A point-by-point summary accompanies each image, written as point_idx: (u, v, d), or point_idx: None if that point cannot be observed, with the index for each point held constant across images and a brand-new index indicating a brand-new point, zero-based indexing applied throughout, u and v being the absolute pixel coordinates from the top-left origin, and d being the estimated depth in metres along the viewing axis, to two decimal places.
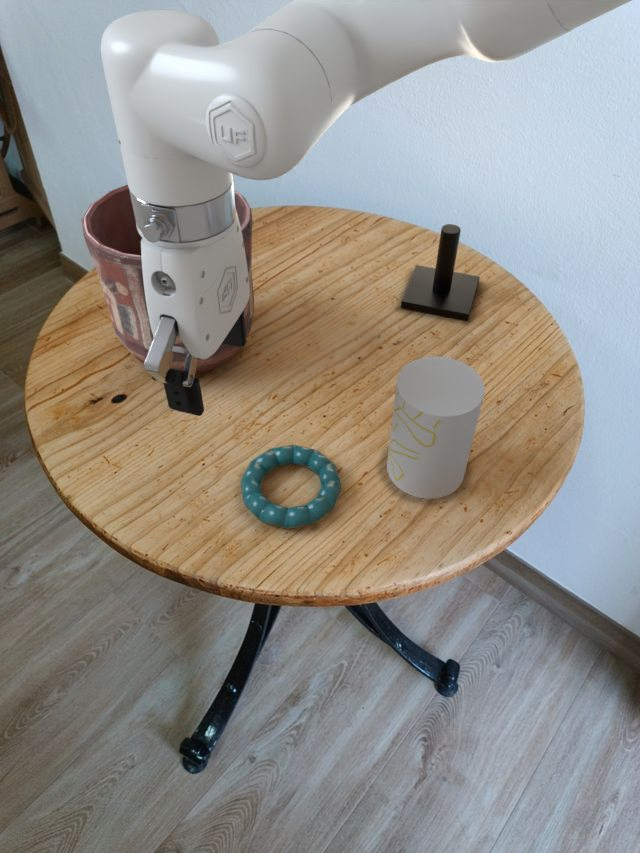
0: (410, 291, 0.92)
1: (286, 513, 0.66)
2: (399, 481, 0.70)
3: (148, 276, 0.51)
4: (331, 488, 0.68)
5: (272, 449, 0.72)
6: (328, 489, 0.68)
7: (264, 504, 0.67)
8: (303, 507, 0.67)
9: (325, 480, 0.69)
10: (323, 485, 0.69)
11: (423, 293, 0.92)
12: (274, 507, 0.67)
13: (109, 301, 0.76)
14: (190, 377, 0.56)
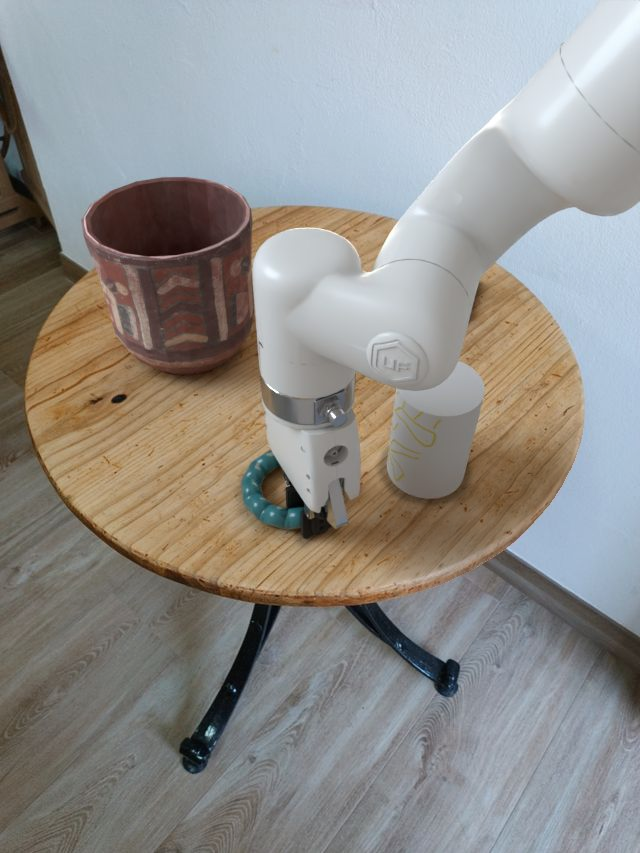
0: None
1: (286, 514, 0.66)
2: (399, 481, 0.70)
3: (320, 457, 0.54)
4: None
5: None
6: None
7: (264, 505, 0.67)
8: (303, 508, 0.67)
9: None
10: None
11: None
12: (274, 508, 0.67)
13: (109, 301, 0.76)
14: None
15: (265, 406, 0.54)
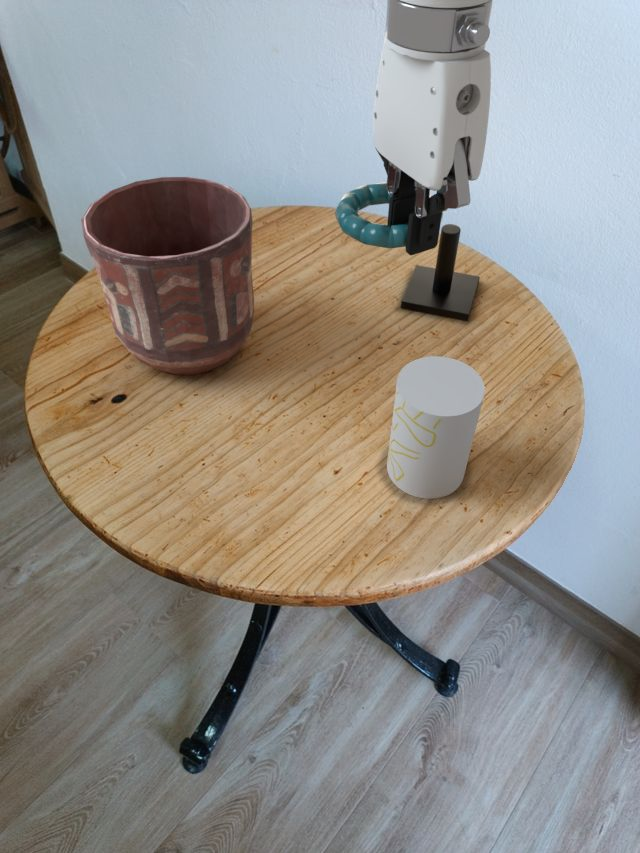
0: (410, 291, 0.92)
1: (390, 228, 0.62)
2: (399, 481, 0.70)
3: (453, 98, 0.50)
4: None
5: (365, 185, 0.68)
6: None
7: (365, 222, 0.63)
8: (407, 224, 0.63)
9: None
10: None
11: (423, 293, 0.92)
12: (376, 224, 0.63)
13: (109, 301, 0.76)
14: None
15: (392, 43, 0.50)
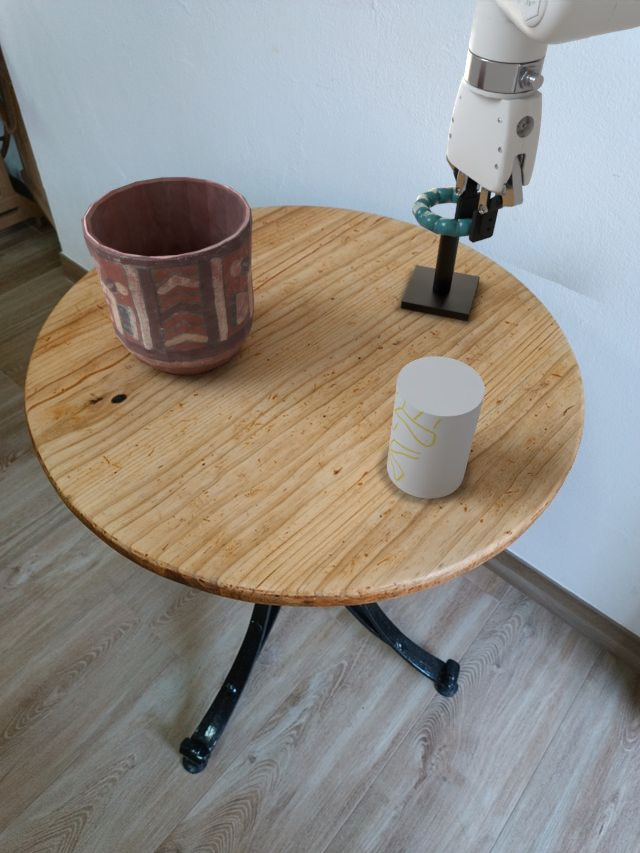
0: (410, 291, 0.92)
1: (457, 221, 0.81)
2: (399, 481, 0.70)
3: (514, 125, 0.69)
4: None
5: (435, 188, 0.86)
6: None
7: (438, 216, 0.81)
8: (470, 218, 0.81)
9: None
10: None
11: (423, 293, 0.92)
12: (446, 218, 0.81)
13: (109, 301, 0.76)
14: None
15: (471, 85, 0.69)
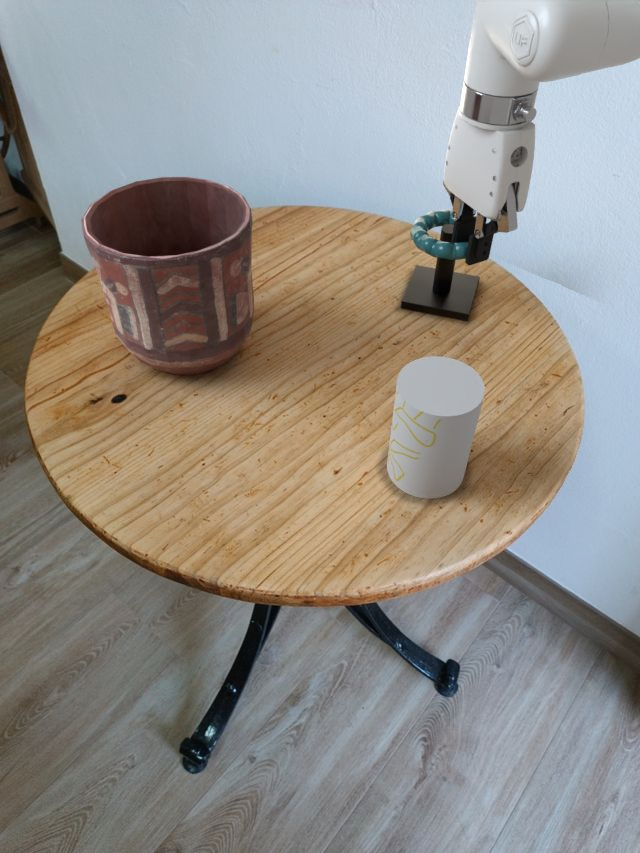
0: (410, 291, 0.92)
1: (454, 245, 0.83)
2: (399, 481, 0.70)
3: (508, 156, 0.71)
4: None
5: (432, 211, 0.89)
6: None
7: (435, 240, 0.84)
8: (466, 242, 0.83)
9: None
10: None
11: (423, 293, 0.92)
12: (443, 242, 0.83)
13: (109, 301, 0.76)
14: None
15: (466, 117, 0.71)
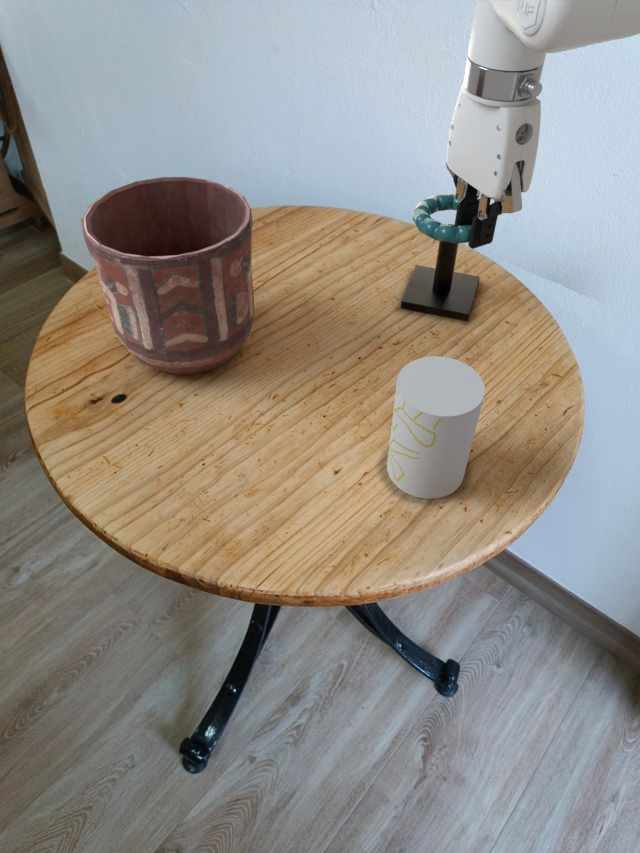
0: (410, 291, 0.92)
1: (457, 228, 0.81)
2: (399, 481, 0.70)
3: (513, 133, 0.69)
4: None
5: (435, 195, 0.87)
6: None
7: (438, 223, 0.82)
8: (470, 225, 0.82)
9: None
10: None
11: (423, 293, 0.92)
12: (446, 225, 0.82)
13: (109, 301, 0.76)
14: None
15: (470, 93, 0.69)
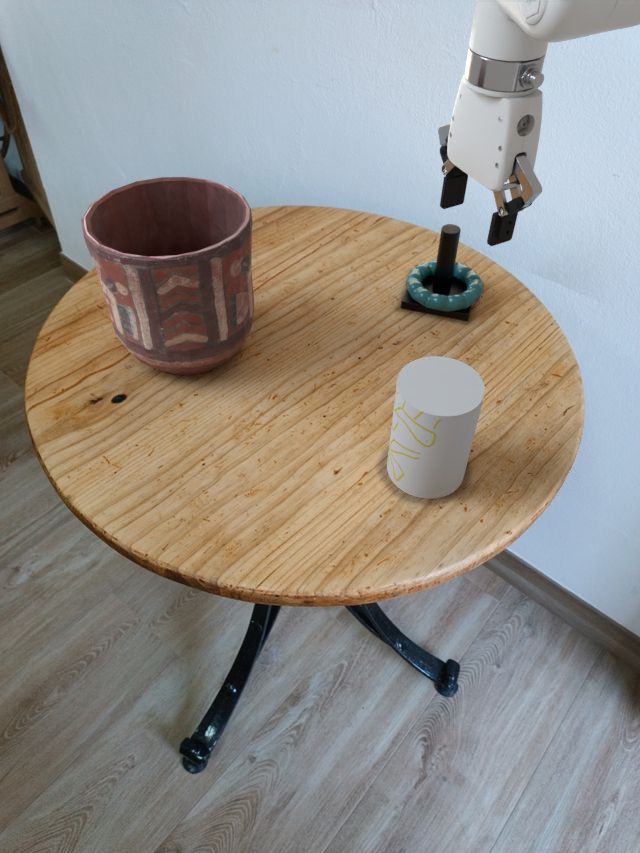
0: None
1: (447, 298, 0.88)
2: (399, 481, 0.70)
3: (514, 124, 0.69)
4: (477, 284, 0.90)
5: (426, 262, 0.94)
6: (475, 284, 0.90)
7: (429, 293, 0.89)
8: (459, 294, 0.89)
9: (471, 280, 0.91)
10: (470, 283, 0.91)
11: None
12: (437, 294, 0.89)
13: (109, 301, 0.76)
14: None
15: (471, 84, 0.69)
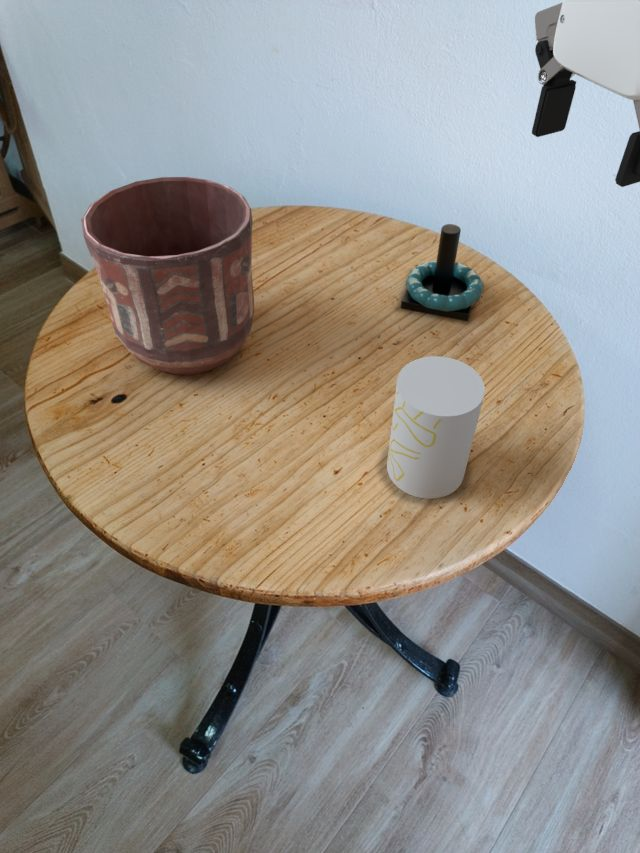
0: None
1: (447, 298, 0.88)
2: (399, 481, 0.70)
3: None
4: (477, 284, 0.90)
5: (426, 262, 0.94)
6: (475, 284, 0.90)
7: (429, 293, 0.89)
8: (459, 294, 0.89)
9: (471, 280, 0.91)
10: (470, 283, 0.91)
11: None
12: (437, 294, 0.89)
13: (109, 301, 0.76)
14: None
15: None
